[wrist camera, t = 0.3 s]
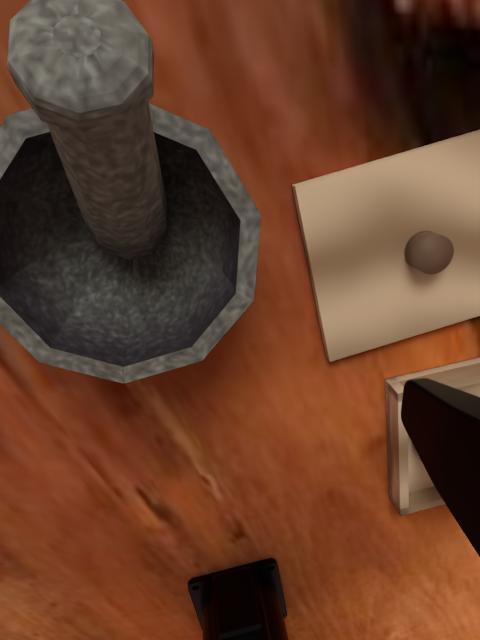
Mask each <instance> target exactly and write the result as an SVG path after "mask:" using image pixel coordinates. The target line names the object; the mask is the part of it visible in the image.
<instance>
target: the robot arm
mask: <svg viewBox="0 0 480 640" xmlns="http://www.w3.org/2000/svg"><path fill="white" fill-rule="evenodd" d="M401 420H402V423H403V426H404V428H405V430H406V432H407V434H408V436H409V438H410V440H411V442H412V444H413V446H414V448H415V450H416V451H417V453H418V455H419V457H420V459H421V461H422V463H423V465H424V467H425V469H426V471H427V473H428V475H429V477H430V479H431V481H432V482H433V484H434V486H435V488H436V490H437V491H438V493H439V494H440V496H441V498H442V499H443V501H444V502H445V504H446V505H447V507H448V508H449V510H450V512H451V513H452V515H453V516H454V518H455V519H456V521H457V522H458V524H459V525H460V527H461V529H462V530H463V532H464V533H465V535H466V536H467V538H468V539H469V541H470V542H471V544H472V546H473V547H474V549H475V550H476V552H477V553H478V555H479V556H480V397H478V396H475V395H473V394H470V393H467V392H464V391H462V390H459V389H456V388H453V387H451V386H448V385H445V384H442V383H439V382H437V381H434V380H431V379H428V378H417V379H410V380H407V381H406V382H405V384H404V388H403V397H402V406H401ZM188 590H189V593H190V596H191V599H192V602H193V604H194V607H195V610H196V613H197V616H198V619H199V622H200V625H201V628H202V631H203V640H288V635H287V631H286V627H285V623H284V618H285V617H286V616H287V610H286V605H285V600H284V595H283V590H282V585H281V580H280V575H279V570H278V565H277V561H276V560H275V559H273V558H270V559H265V560H261V561H258V562H254V563H250V564H246V565H242V566H238V567H234V568H230V569H226V570H223V571H219V572H215V573H211V574H207V575H203V576H199V577H195V578H192V579H190V580H189V582H188Z"/></svg>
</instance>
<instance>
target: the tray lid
mask: <svg viewBox="0 0 480 640" xmlns="http://www.w3.org/2000/svg"><path fill="white" fill-rule="evenodd" d="M292 189H293V194H294V199H295V204H296V209H297V214H298V219H299V223H300V228H301V233H302V238H303V243H304V248H305V253H306V258H307V263H308V268H309V273H310V278H311V283H312V288H313V293H314V298H315V303H316V308H317V313H318V318H319V323H320V328H321V333H322V338H323V343H324V348H325V353H326V357H327V359H328V360H329V362H332V361H335V360H338V359H341V358H344V357H348V356H351V355H354V354H357V353H361V352H364V351H367V350H370V349H374V348H377V347H380V346H383V345H387V344H390V343H393V342H396V341H400V340H403V339H406V338H409V337H413V336H416V335H419V334H422V333H426V332H429V331H432V330H435V329H439V328H442V327H445V326H448V325H451V324H455V323H458V322H461V321H464V320H468V319H471V318H474V317H477V316H480V130H477V131H474V132H470V133H467V134H463V135H460V136H457V137H453V138H450V139H446V140H443V141H440V142H436V143H433V144H429V145H426V146H423V147H419V148H416V149H412V150H409V151H406V152H402V153H399V154H395V155H392V156H389V157H385V158H382V159H379V160H375V161H372V162H368V163H365V164H362V165H358V166H355V167H351V168H348V169H345V170H341V171H338V172H334V173H331V174H328V175H324V176H321V177H317V178H314V179H311V180H307V181H304V182H300V183H297V184H294V185H292Z"/></svg>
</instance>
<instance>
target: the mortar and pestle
mask: <svg viewBox="0 0 480 640" xmlns="http://www.w3.org/2000/svg"><path fill="white" fill-rule="evenodd" d="M7 67H8V69H9V71H10V73H11V75H12V78H13V80H14V82H15V84H16V85H17V87H18V88H19V89H20V91H21V92H22V94H23V95H24V97H25V98H26V100H27V101H28V102H29V104H30V105H31V107H32V109H28V110H25V111H21V112H17V113H14V114H10V115H7V117H6V119H5V120H4V122H3V124H2V125H1V127H0V324H1V325H2V326H3V327H4V328H5V329H6V330H7V331H8V332H9V333H10V334H11V335H12V336H13V337H14V338H15V339H16V340H17V341H18V342H19V343H20V344H21V345H22V346H23V347H24V348H25V349H26V350H27V351H28V352H29V353H30V354H31V355H32V356H33V357H34V358H35V359H36V360H37V361H38V362H39V363H43V364H47V365H51V366H55V367H59V368H63V369H67V370H71V371H75V372H79V373H83V374H87V375H91V376H95V377H99V378H103V379H107V380H111V381H115V382H119V383H123V384H125V383H129V382H132V381H135V380H139V379H142V378H146V377H149V376H152V375H156V374H159V373H162V372H166V371H169V370H173V369H176V368H179V367H183V366H186V365H190V364H193V363H196V362H200V361H203V359H204V358H205V357H206V356H207V355H208V354H209V352H210V351H211V350H212V349H213V348H214V346H215V345H216V344H217V343H218V342H219V341H220V339H221V338H222V337H223V336H224V335H225V334H226V332H227V331H228V330H229V329H230V328H231V327H232V325H233V324H234V323H235V322H236V321H237V319H238V318H239V317H240V316H241V315H242V314H243V312H244V311H245V310H246V309H247V308H248V307H249V305H250V304H251V303H252V302H253V301H254V294H255V282H256V270H257V258H258V246H259V234H260V222H261V214H260V212H259V210H258V209H257V207H256V205H255V204H254V202H253V200H252V199H251V197H250V195H249V194H248V192H247V190H246V189H245V187H244V185H243V184H242V182H241V180H240V179H239V177H238V175H237V173H236V172H235V170H234V168H233V167H232V165H231V163H230V162H229V160H228V158H227V157H226V155H225V153H224V152H223V150H222V148H221V147H220V145H219V143H218V142H217V140H216V138H215V137H214V135H213V133H212V132H211V130H209V129H206V128H204V127H202V126H199V125H197V124H195V123H193V122H190V121H188V120H186V119H183V118H181V117H179V116H176V115H174V114H172V113H170V112H167V111H165V110H163V109H160V108H158V107H156V106H154V105H151V104H149V103H148V101H149V100H150V99H151V98H152V97H153V82H154V54H153V43H152V39H151V38H150V36H149V35H148V34H147V32H146V31H145V30H144V28H143V27H142V25H141V24H140V23H139V21H138V20H137V19H136V17H135V16H134V15H133V13H132V12H131V10H130V9H129V8H128V6H127V5H126V4H125V2H124V1H121V0H30V1H29V2H28V3H27V4H26V5H25V6H24V7H23V8H22V9H21V10H20V11H19V12H18V13H17V14H16V15H15V16H14V17H13V18H12V19H11V20H10V24H9V43H8V62H7Z"/></svg>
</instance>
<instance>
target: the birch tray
mask: <svg viewBox="0 0 480 640" xmlns="http://www.w3.org/2000/svg"><path fill="white" fill-rule="evenodd" d="M417 378H428V379H431V380H434V381H437V382H439V383H442V384H445V385H448V386H451V387H453V388H456V389H459V390H462V391H464V392H467V393H470V394H473V395H475V396H478V397H480V358H475V359H471V360H467V361H463V362H458V363H454V364H450V365H445V366H441V367H437V368H432V369H428V370H424V371H420V372H415V373H411V374H407V375H402V376H398V377H394V378H390V379H385V385H386V415H387V444H388V474H389V498H390V500H391V501H392V503H393V505H394V506H395V508H396V510H397V511H398V513H399V515H400V516H402V515H406V514H410V513H413V512H417V511H421V510H425V509H429V508H433V507H437V506H441V505H445V502H444V501H443V499H442V498H441V496H440V494H439V493H438V491H437V490H436V488H435V486H434V484H433V482H432V481H431V479H430V477H429V475H428V473H427V471H426V469H425V467H424V465H423V463H422V462H421V460H420V459H419V458H418V457H417V455H416V454H415V453H414V451H413V449H412V444H411V440H410V438H409V436H408V434H407V432H406V430H405V428H404V426H403V423H402V420H401V406H402V397H403V388H404V384H405V382H406V381H407V380H410V379H417Z"/></svg>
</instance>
